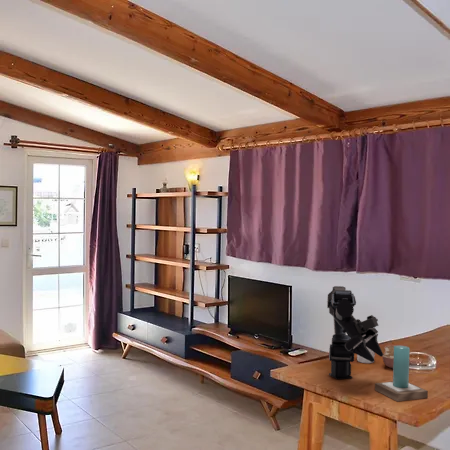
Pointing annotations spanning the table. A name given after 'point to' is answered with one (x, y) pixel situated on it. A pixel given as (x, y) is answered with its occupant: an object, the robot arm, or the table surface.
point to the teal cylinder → (401, 366)
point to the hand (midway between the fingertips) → (378, 358)
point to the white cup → (364, 358)
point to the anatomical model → (389, 356)
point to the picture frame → (401, 391)
